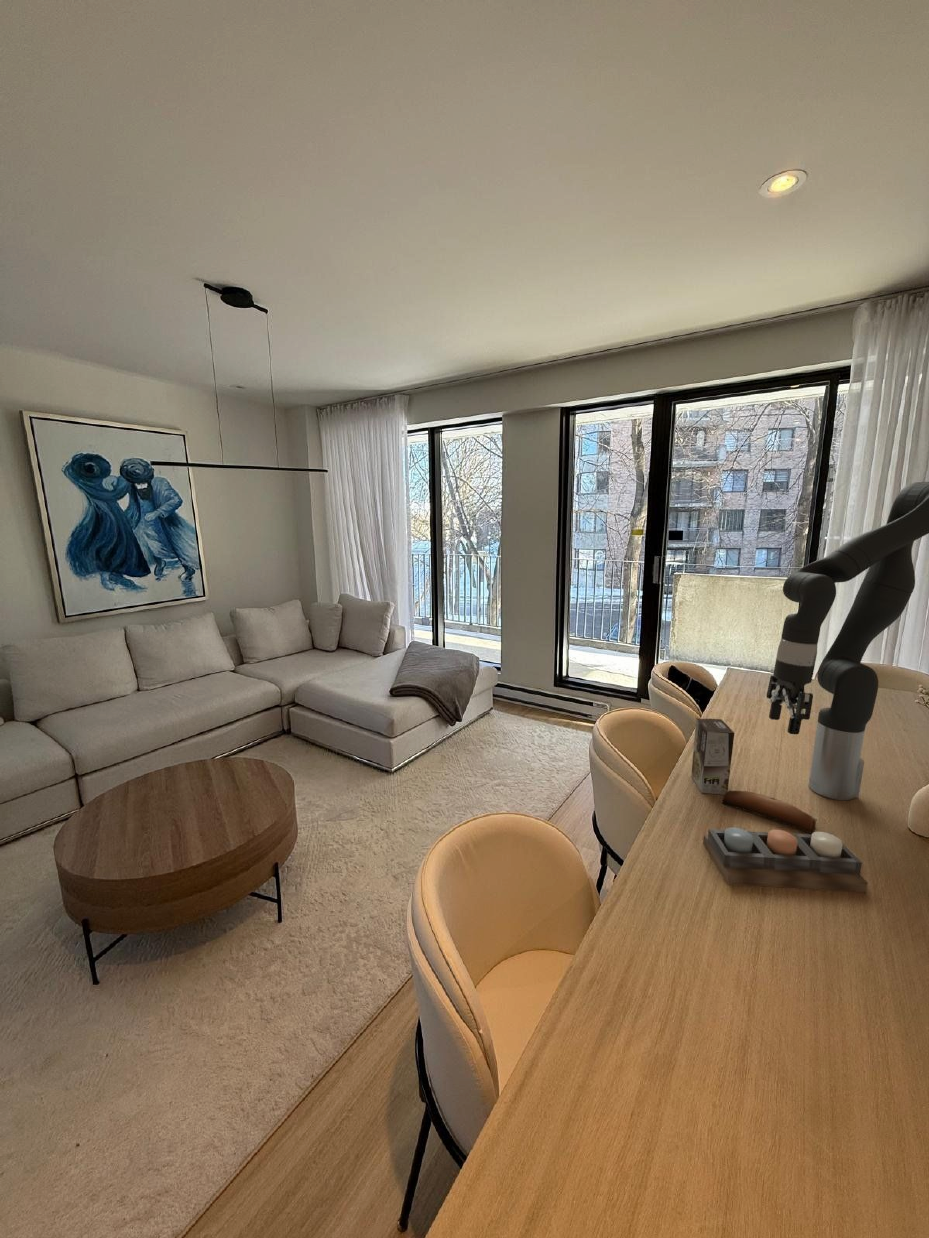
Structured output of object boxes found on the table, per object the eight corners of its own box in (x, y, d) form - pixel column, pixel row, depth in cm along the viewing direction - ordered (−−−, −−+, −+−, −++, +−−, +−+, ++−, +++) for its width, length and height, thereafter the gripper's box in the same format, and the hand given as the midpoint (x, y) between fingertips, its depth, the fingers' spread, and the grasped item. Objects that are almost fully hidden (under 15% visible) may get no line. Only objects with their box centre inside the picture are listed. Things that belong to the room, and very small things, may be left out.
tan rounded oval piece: (787, 843, 100) (789, 830, 99) (800, 859, 95) (802, 845, 95) (761, 842, 100) (763, 828, 100) (774, 858, 96) (775, 844, 95)
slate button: (744, 841, 100) (746, 828, 100) (756, 857, 96) (757, 843, 95) (719, 840, 101) (720, 826, 100) (729, 856, 96) (731, 841, 96)
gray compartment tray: (825, 849, 103) (828, 829, 102) (866, 891, 91) (869, 869, 91) (702, 843, 105) (704, 823, 104) (727, 883, 93) (729, 862, 93)
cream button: (830, 846, 99) (832, 832, 99) (846, 862, 94) (848, 848, 94) (804, 844, 100) (806, 831, 99) (818, 860, 95) (821, 846, 94)
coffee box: (728, 795, 123) (735, 733, 120) (700, 793, 124) (706, 731, 121) (716, 776, 132) (722, 718, 129) (690, 775, 133) (695, 716, 130)
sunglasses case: (819, 818, 114) (820, 801, 110) (812, 845, 110) (813, 828, 106) (731, 790, 125) (729, 774, 122) (723, 814, 122) (720, 798, 118)
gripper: (831, 670, 109) (817, 740, 112) (795, 652, 123) (783, 715, 126) (795, 667, 110) (782, 737, 113) (763, 650, 124) (752, 713, 127)
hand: (783, 726), depth 120 cm, fingers open, 8 cm apart
